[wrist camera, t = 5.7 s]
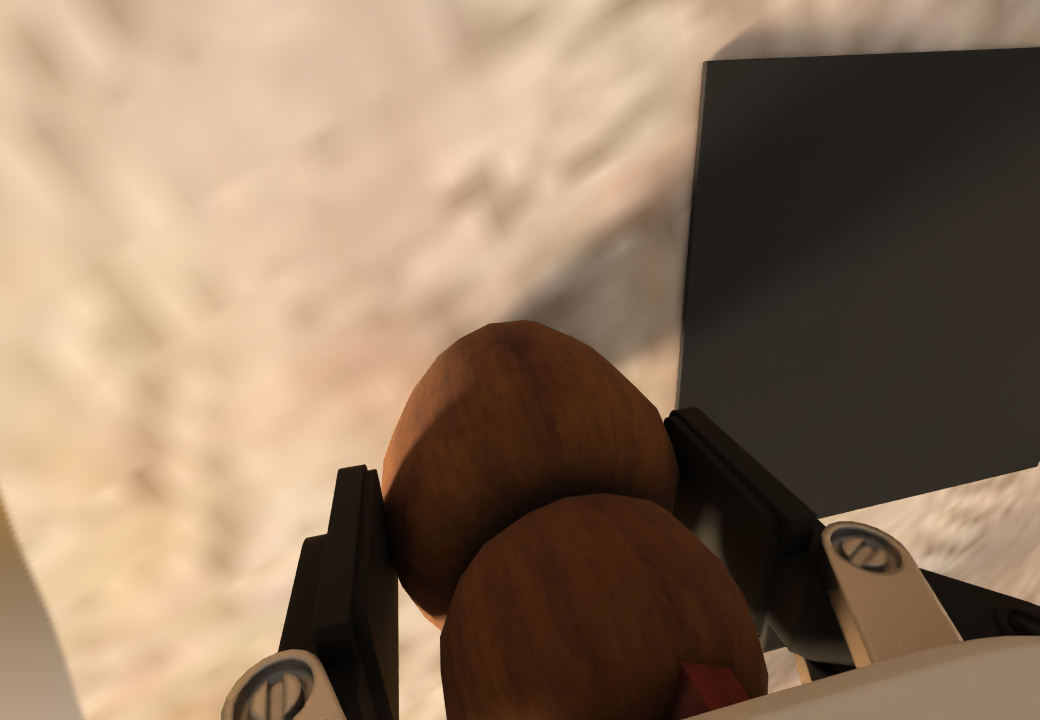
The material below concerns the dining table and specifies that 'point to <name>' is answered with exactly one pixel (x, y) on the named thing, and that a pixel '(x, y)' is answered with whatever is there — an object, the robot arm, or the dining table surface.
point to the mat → (868, 270)
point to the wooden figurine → (557, 541)
